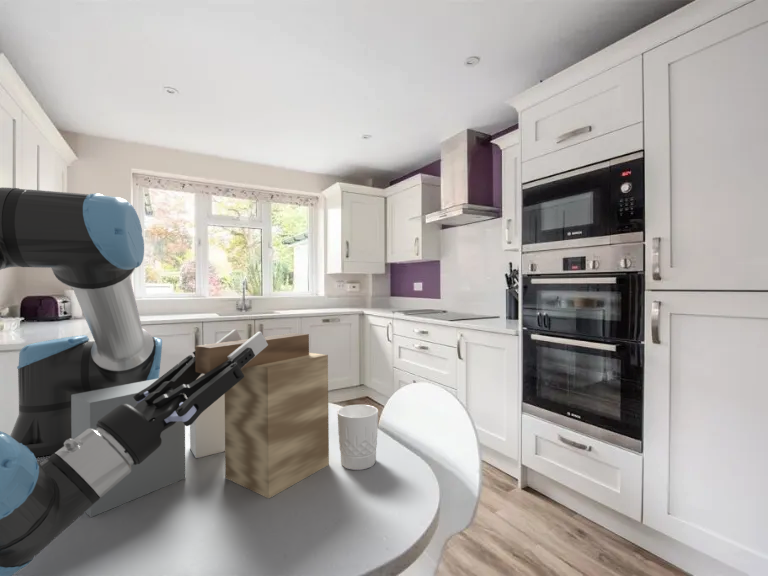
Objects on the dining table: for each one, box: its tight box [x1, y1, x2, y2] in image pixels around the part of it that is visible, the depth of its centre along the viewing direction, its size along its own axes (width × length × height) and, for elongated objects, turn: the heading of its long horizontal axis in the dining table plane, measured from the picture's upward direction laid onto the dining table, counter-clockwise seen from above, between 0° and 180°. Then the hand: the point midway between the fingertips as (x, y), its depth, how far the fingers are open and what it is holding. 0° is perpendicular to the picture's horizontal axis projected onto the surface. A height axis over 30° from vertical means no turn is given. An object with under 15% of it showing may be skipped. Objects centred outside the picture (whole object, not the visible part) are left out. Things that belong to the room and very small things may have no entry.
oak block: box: [224, 352, 330, 499], centre depth 70 cm, size 12×14×21 cm
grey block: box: [71, 377, 186, 518], centre depth 64 cm, size 8×14×17 cm, turn 145°
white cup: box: [336, 404, 379, 471], centre depth 73 cm, size 8×8×10 cm
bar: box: [194, 332, 310, 374], centre depth 65 cm, size 4×20×4 cm, turn 145°
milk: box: [189, 343, 225, 459], centre depth 79 cm, size 6×6×22 cm
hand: (250, 337), depth 64 cm, fingers open, 6 cm apart
